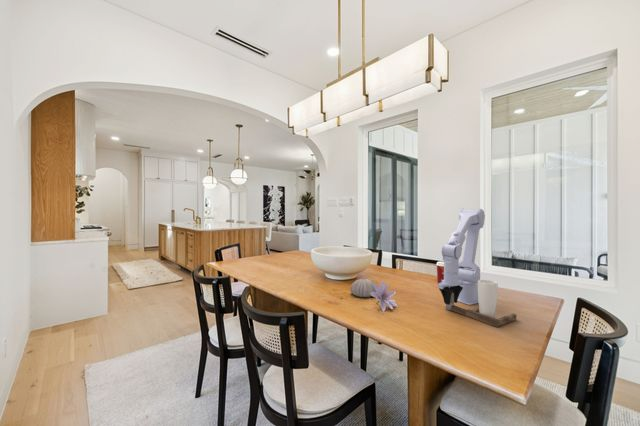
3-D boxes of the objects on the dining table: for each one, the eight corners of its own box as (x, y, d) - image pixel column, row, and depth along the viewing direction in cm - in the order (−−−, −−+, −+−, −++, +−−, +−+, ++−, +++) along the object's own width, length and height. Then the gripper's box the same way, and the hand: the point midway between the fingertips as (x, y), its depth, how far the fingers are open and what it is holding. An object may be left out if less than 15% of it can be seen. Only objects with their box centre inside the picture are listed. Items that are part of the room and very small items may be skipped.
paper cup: (444, 290, 146) (445, 264, 146) (432, 286, 153) (433, 262, 152) (454, 288, 149) (454, 263, 149) (442, 285, 156) (442, 260, 156)
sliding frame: (465, 303, 126) (465, 288, 126) (517, 320, 107) (517, 302, 107) (444, 308, 119) (444, 292, 119) (495, 327, 100) (496, 308, 100)
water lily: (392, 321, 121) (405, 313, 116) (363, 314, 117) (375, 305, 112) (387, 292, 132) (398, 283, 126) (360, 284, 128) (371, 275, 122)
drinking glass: (500, 323, 104) (501, 284, 103) (481, 322, 105) (481, 283, 105) (492, 316, 110) (493, 280, 110) (474, 315, 112) (475, 279, 111)
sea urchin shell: (355, 299, 130) (356, 283, 130) (346, 291, 143) (346, 276, 143) (381, 298, 133) (381, 281, 133) (369, 289, 146) (370, 275, 146)
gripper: (453, 268, 125) (453, 297, 125) (432, 271, 118) (431, 302, 118) (468, 271, 119) (467, 302, 119) (446, 275, 112) (445, 308, 112)
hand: (450, 303), depth 118 cm, fingers open, 4 cm apart
